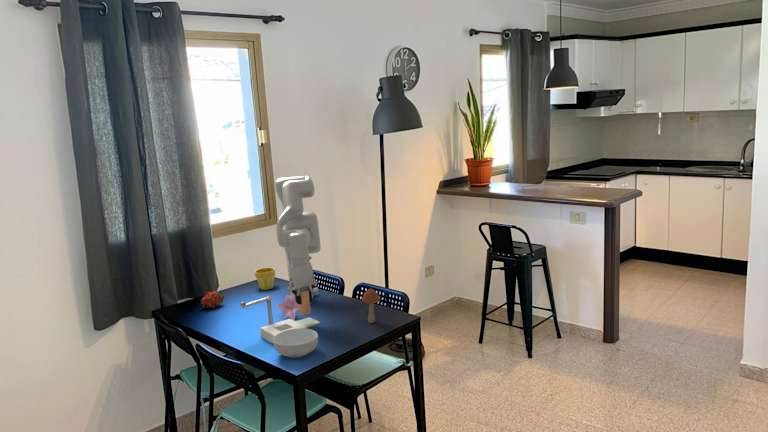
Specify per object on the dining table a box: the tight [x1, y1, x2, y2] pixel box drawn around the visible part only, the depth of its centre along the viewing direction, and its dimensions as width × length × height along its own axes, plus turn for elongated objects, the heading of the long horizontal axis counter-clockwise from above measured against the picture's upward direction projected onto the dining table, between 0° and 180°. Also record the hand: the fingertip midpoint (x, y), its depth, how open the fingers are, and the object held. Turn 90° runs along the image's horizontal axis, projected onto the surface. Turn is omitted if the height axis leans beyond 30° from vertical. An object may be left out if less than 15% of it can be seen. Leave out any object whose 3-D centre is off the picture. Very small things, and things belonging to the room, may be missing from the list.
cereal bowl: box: [273, 328, 319, 359], centre depth 225 cm, size 17×17×7 cm
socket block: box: [259, 300, 308, 345], centre depth 244 cm, size 14×20×13 cm
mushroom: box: [361, 287, 381, 324], centre depth 252 cm, size 8×8×15 cm
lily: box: [276, 294, 300, 321], centre depth 266 cm, size 12×12×10 cm
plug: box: [299, 286, 311, 315], centre depth 254 cm, size 5×5×12 cm
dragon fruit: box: [199, 290, 225, 309], centre depth 286 cm, size 8×8×12 cm
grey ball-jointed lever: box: [239, 295, 273, 309], centre depth 245 cm, size 14×3×2 cm, turn 135°
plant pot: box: [254, 267, 276, 291], centre depth 311 cm, size 10×10×10 cm
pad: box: [295, 316, 321, 329], centre depth 256 cm, size 9×9×1 cm
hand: (304, 301), depth 254 cm, fingers closed on plug, 4 cm apart
